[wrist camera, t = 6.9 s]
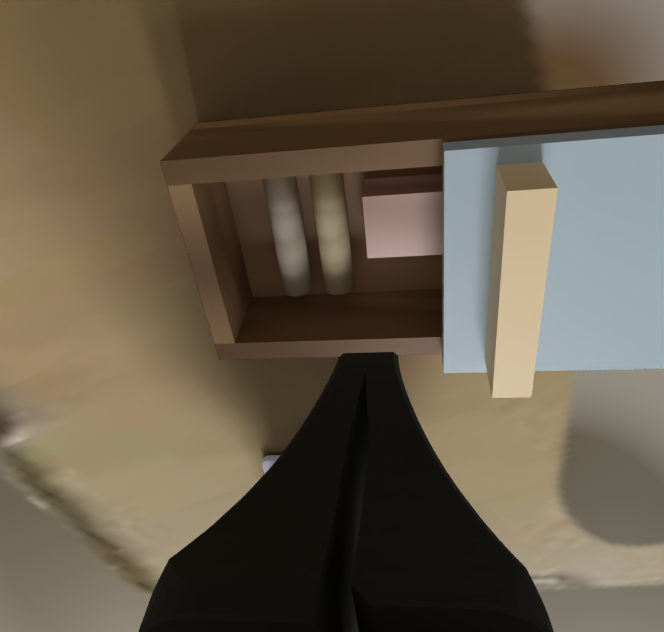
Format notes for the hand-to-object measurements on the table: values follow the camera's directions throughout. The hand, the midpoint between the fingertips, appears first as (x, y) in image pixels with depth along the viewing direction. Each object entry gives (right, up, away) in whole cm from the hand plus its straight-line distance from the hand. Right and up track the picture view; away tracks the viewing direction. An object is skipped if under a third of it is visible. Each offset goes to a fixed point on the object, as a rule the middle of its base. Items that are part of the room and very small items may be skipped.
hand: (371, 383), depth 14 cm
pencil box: (+2, +6, +8) cm, 10 cm away
